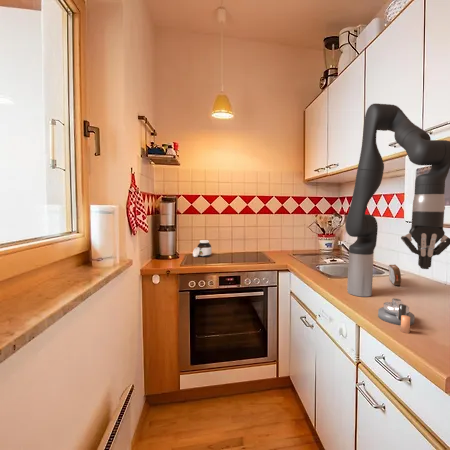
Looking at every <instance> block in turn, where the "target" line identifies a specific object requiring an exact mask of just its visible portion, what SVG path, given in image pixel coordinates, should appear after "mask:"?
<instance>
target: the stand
mask: <svg viewBox="0 0 450 450" xmlns="http://www.w3.org/2000/svg"><path fill="white" fill-rule="evenodd" d="M377 311H378V312H377V318H379V319H380V320H381V321H384V322H387V323H389V324H393V325H396V326H397V325H399V326H400V332H402V333H403V334H410V332H411V331H410V330H411V329H410V328H411V326H412V325H414V324H415V314H414V313H412V312H411V311H409V315H401V320H399V319H398V318H397V317H396V316H395V315H393V314H389V313H387V312H385V311H384V306H383V307H379V308H378V310H377Z"/></svg>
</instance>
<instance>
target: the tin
mask: <svg viewBox="0 0 450 450" xmlns="http://www.w3.org/2000/svg"><path fill="white" fill-rule="evenodd" d="M401 276H402V275H401V270H400V268H399V267H398V266H397V265H396V264H389V265H388V279H389V281H390V283H391V284H392V285H393V286H399V287H401V284H402V283H401V282H402V277H401Z"/></svg>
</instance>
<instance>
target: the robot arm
mask: <svg viewBox="0 0 450 450" xmlns="http://www.w3.org/2000/svg"><path fill="white" fill-rule="evenodd" d="M363 121H364V122H363V129H362V139H361V149H360V155H359V160H358V165H357V170H356V175H355V183H354V188H353V193H352V198H351V203H350V206H349V209H348V213H347V216H346V220H345V231H346V233H347V235H348V236H349V237H352V238H353V237H354V238H357V239H356V240H355V241H354V242H353V243H352V244H350V245H349V247H348V265H347V266H348V268H347V286H346V287H347V293H348V294H350V295H353V296H355V297H371V296H373V276H374V251H375V249H376V246H377V240H378V239H377V238H378V230H379V229H378V226H379V225H378V221H377V219H376V217H375V216H374V215H372V214H366V211H367V209H368V208H367V207H368V204H369V202H370V200H371V199H372V198H373V196H374V195H375V193H376V192H377V191H378V189H379V187H380V186H381V183H382V180H383V176H384V171H385V162H384V159H383V158H382V155H381V152H380V150H379V148H378V143H377V133H378V131H382V132H383V131H384V132H386V131H389V132H392V133H394V135H393V136H394V140H395V142H396V144H398V145H399V146H400V147H401V148H403V149H404V150H405V153H406V154H407V157H408V159H409V161H410V162H411V163H413V164H415V165H417V166H431V167H430V170H429V171H428V172H427V173H422V174H419V175H417V176H416V177H415V180H414V196H413V199H412V200H413V201H412V210H411V211H412V212H411V227H410V229H409V231H408V233H407V234H405V235H401V237H400V239H401V241H402V242H403V243H404V244H405V246H406V247H407V248H408V249H409V251H410V252H411V253H412V254H415V255H418V260H417V261H418V262H417V263H418V264H417V265H418V267H420V269H422V270H429V269H430V268H431V267H432V259H433V257H434V256H439V255H441V254H442V253H443V252H444V251H445V250H446V249H447V248H448V247H449V246H450V237H448V235H446V234H445V233H446V232H445V231H444V222H445V221H444V220H445V210H446V205H445V204H446V199H445V193H446V192H445V188H446V179H447V177H448V174H449V172H450V140H448V139H447V140H445V139H443V140H441V139H435V140H434V139H433V140H432V139H431V135H430V134H429V133H428V132H427V131H426V130H424V129H422V127H419V126H418V125H416V124H415V123H413V122H412V121H411V119H409V117H408V116H407V115H406V114H405V113H404V111H403V110H402V109H401V108H400V107H399V106H398V105H395V104H389V103H372V104H370V105H368V107H367V110H366V111H365V114H364V120H363ZM413 240H414V241H415V243H416V246H415V245H414V243H413V242H412V241H413ZM439 241H440V243H439ZM437 243H439V244H437ZM436 244H437V246H436Z"/></svg>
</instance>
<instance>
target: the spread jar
mask: <svg viewBox="0 0 450 450" xmlns="http://www.w3.org/2000/svg"><path fill="white" fill-rule="evenodd" d="M212 250H213V249H212V244H211V243H210V240H208V239H200V240H199V243H198V244H197V246H196V247H194V249H193V251H192V257H194V258H198V257H200V258H208V257H209V258H210V256H211V255H212V252H213V251H212Z"/></svg>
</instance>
